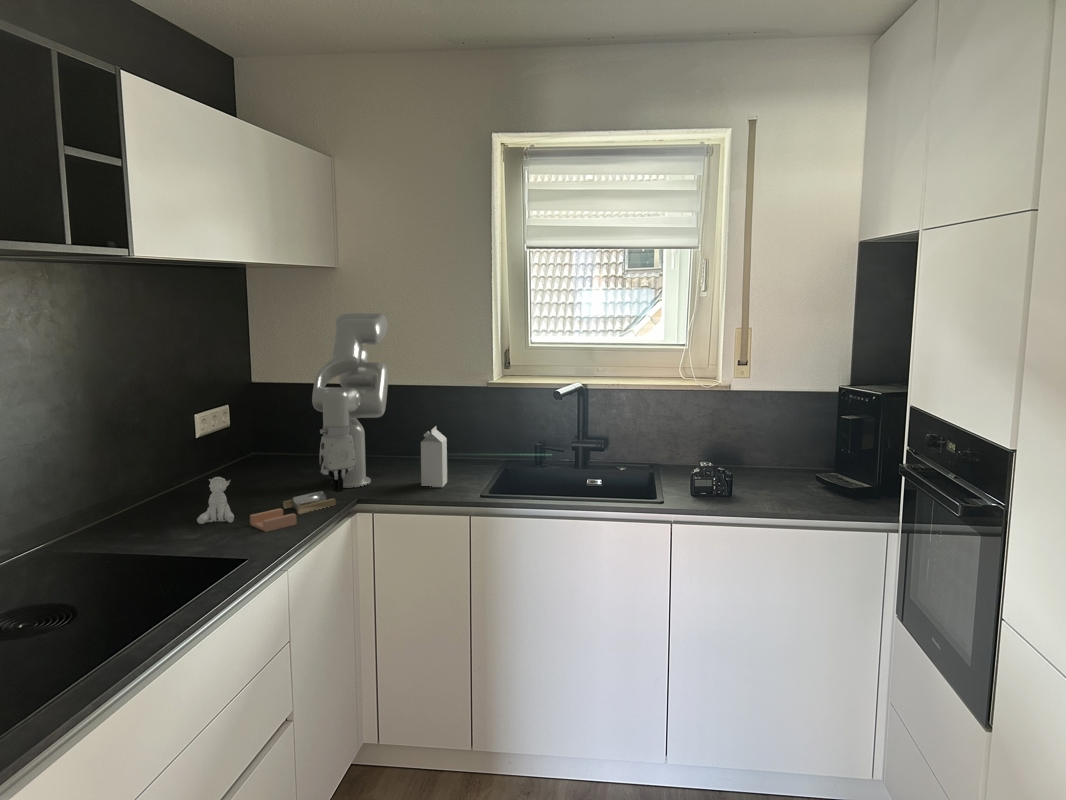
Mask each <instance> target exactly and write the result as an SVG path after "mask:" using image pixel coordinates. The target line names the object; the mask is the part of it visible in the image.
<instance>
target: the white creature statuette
mask: <svg viewBox="0 0 1066 800" xmlns="http://www.w3.org/2000/svg"><path fill="white" fill-rule="evenodd" d="M208 481H209V485H208V487H209V488H210V489H209V491H211V494H210V495H209V498H208V507H207V510H206V511H205V512H203V513H201V514H200V515H199V516H198V517H197V519H196V521H197V523H198V524H201V525H203V524H205V523H206V524H207V523H213V522H228V523H233V521H234V520H235V515H234V513H233V512H232V511H231V508H230V505H229V504H228V503H229V502H228V500H227V496H226V494H225V493H224V492H225V491H226V490H227V487H228V486H229V485H230V482H231V479H229V480H226V479H225V478H223V477H221V476H215V477H213V478H212V479H211V478H209V479H208Z"/></svg>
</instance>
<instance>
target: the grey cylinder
mask: <svg viewBox="0 0 1066 800" xmlns="http://www.w3.org/2000/svg"><path fill="white" fill-rule="evenodd" d="M291 500H292V507H291V508H292V509H293V510H294V511H297V507H298V506H302V505H306V504H311V503H315V502H319V501H324V500H327V497H326V494H325V492H323V490H321V491H315V492H311V493H306V494H302V495H298V496H293V497H292V498H291Z"/></svg>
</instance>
